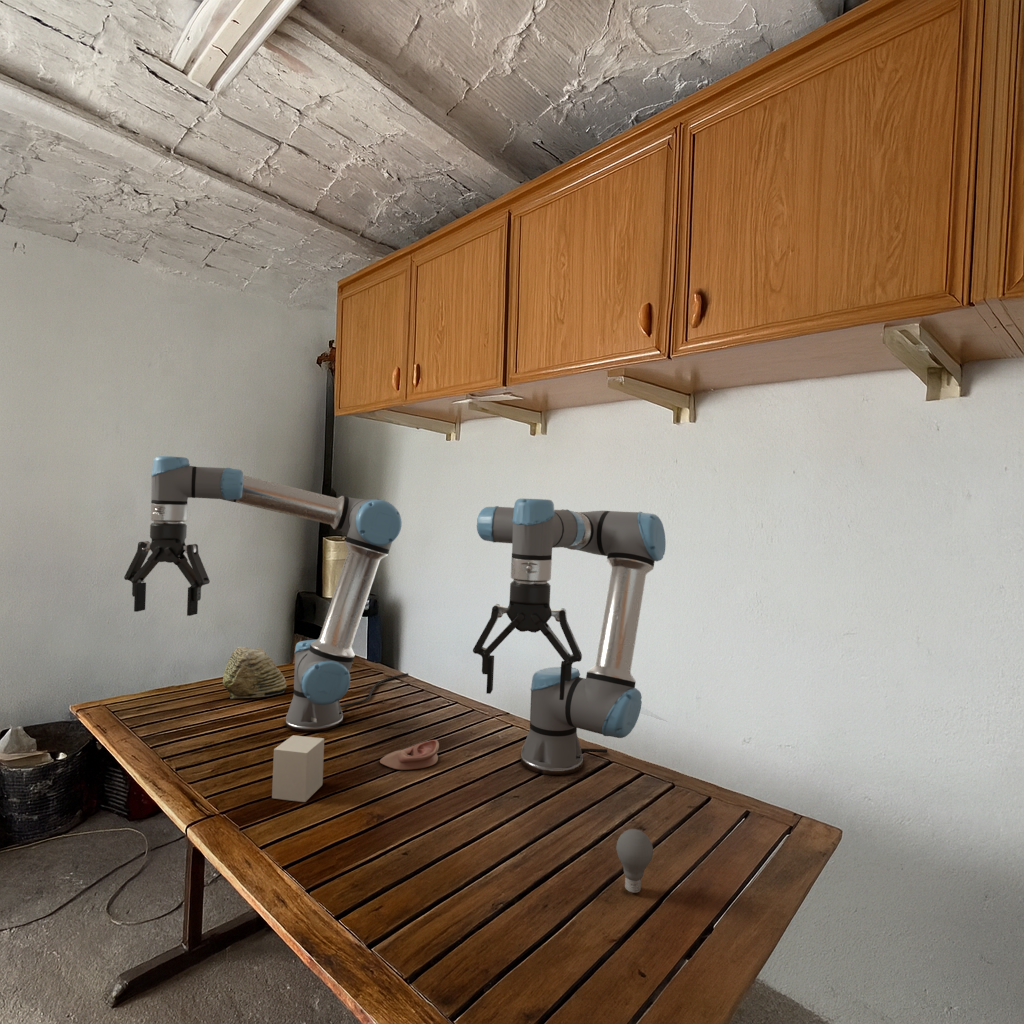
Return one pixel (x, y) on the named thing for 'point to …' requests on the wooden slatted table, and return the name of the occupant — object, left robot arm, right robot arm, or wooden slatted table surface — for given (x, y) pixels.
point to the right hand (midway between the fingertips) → (525, 694)
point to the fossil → (252, 674)
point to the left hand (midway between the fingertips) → (165, 612)
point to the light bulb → (634, 857)
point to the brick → (298, 768)
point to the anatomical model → (413, 756)
